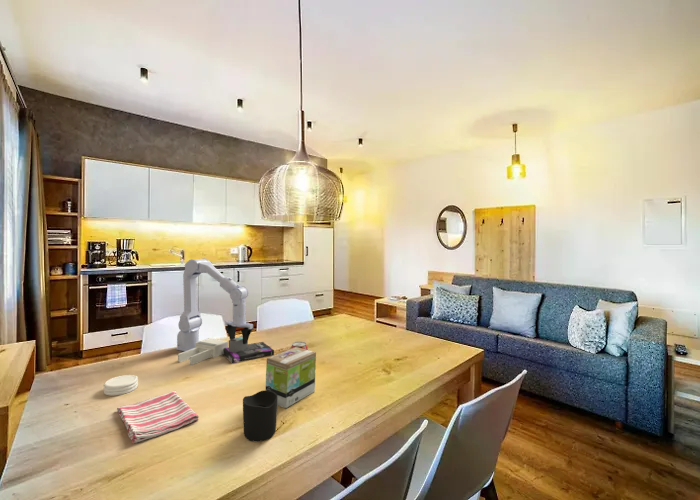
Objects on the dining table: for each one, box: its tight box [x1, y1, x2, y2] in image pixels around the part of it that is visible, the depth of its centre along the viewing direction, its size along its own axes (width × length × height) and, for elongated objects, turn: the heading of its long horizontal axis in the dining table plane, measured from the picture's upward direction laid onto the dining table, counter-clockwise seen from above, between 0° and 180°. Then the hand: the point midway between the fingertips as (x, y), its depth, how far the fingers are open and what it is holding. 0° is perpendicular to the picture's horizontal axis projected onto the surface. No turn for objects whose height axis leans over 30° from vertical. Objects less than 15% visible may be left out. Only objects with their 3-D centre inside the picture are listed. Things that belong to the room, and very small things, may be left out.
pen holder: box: [242, 389, 278, 443], centre depth 93 cm, size 9×9×10 cm
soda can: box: [289, 341, 309, 350], centre depth 134 cm, size 7×7×12 cm
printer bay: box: [177, 337, 229, 366], centre depth 150 cm, size 12×19×5 cm, turn 157°
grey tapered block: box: [228, 335, 249, 353], centre depth 153 cm, size 4×8×6 cm, turn 156°
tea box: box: [265, 347, 317, 409], centre depth 114 cm, size 15×10×15 cm, turn 148°
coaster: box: [103, 374, 139, 397], centre depth 117 cm, size 10×10×4 cm
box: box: [222, 341, 275, 364], centre depth 154 cm, size 14×4×20 cm
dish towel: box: [116, 390, 200, 444], centre depth 100 cm, size 17×23×4 cm
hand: (238, 342), depth 154 cm, fingers open, 7 cm apart
